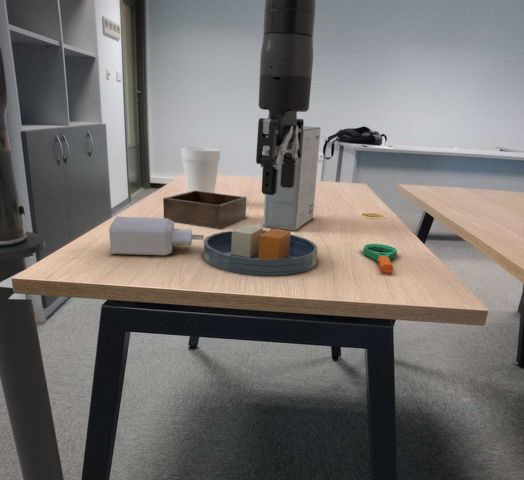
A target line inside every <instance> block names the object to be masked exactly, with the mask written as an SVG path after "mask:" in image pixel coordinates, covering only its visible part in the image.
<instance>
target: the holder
mask: <svg viewBox="0 0 524 480" xmlns="http://www.w3.org/2000/svg"><path fill="white" fill-rule="evenodd" d="M247 199H248V198H247V196H240V195H232V194H226V193H225V194H224V193H217V192H215V193H210V192H202V191H190V192H187V191H186V192H183V193H179V194H174V195H171V196H167V197H163V199H162V202H163V203H162V205H163V206H162V207H163V218H168V219H170V220H172V221H173V222H174V223H181V224H186V225H192V226H193V225H194V226H200V227H207V228H213V229H222V228H225V227H227V226H229V225H232V224H234V223H236V222H239V221H241V220H243V219H245V218H246V217H247Z"/></svg>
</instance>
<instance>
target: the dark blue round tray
mask: <svg viewBox="0 0 524 480" xmlns="http://www.w3.org/2000/svg"><path fill="white" fill-rule="evenodd" d="M232 231H233V230H227V231H221V232H217V233H213V234H210V235H209V236H207V237H206V238H205V239H203V258H204V260H205V261H206V262H207V263H208V264H210V265H211V266H213V267H215V268H218V269H221V270H223V271H228V272H232V273H235V274H236V273H237V274H243V275H250V276H264V277H269V276H271V277H273V276H275V277H277V276H289V275H290V276H291V275H296V274H300V273H305V272H308V271H309V270H311V269H313V268H314V267H315V265H316V264H317V257H318V256H317V255H318V245H317V244H315V242H313V241H311V240H309V239H307V238H304V237H301V236H299V235H295V234H294V235H293V234H291V233H290V245H289V255H287V256H286V257H285V258H283V259H258V257H259V252H258V253H256V254H255V255H253V256H251V257H244V256H238V255H232V254H231V245H232ZM267 231H268V230H263V233H265V232H267Z"/></svg>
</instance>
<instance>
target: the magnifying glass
mask: <svg viewBox="0 0 524 480" xmlns="http://www.w3.org/2000/svg"><path fill="white" fill-rule="evenodd" d="M362 251H363V252H362V254H363V255H364V256H366V257H368V258H370V259H372V260H374V261H376V262H378V265H379V267H380V270H381V271H382V272H383V273H392V271H393V270H394V266H393V264H392V262H391V261H392V260H394V259H395V258H396V257H397V254H398V250H397V248H396V247H393V246H391V245H387V244H381V243H380V244H379V243H368V244H367V243H366V244H365V245H364V246H363V250H362Z"/></svg>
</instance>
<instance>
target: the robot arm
mask: <svg viewBox="0 0 524 480" xmlns="http://www.w3.org/2000/svg"><path fill="white" fill-rule="evenodd" d="M316 2H317V0H265V1H264V11H263V32H262V33H263V36H262V44H261V51H260V59H259V60H260V61H259V62H260V63H259V83H258V84H259V87H258V88H259V89H258V107H259V109H261V110H262V111H263V110H264V111H265V110H266V111H268V117H267V118H266V117H265V118H263V117H262V118H261V117H260V118H258V123H257V138H256V153H255V154H256V155H255V163H256V164H257V165H260V168H262V174H261V175H262V176H261V193H262V194H263V195H265V194H267V195H274V194H276V192H277V178H278V169H277V168H278V165H279V162H280V158H281V159H282V162H283V163H282V167H281V182H280V185H281V187H285V188H292V187H293V186H294V179H295V166H296V164H297V162H298V159H300V158H301V156H302V139H303V126H305V121H304V119H303V118H298V116H297V114H298V112H300V113H306V112H309V109H310V100H311V89H312V77H313V76H312V75H313V65H314V33H315V32H314V31H315V20H316V4H317V3H316ZM1 45H2V44H1V43H0V248H4V247H10V246H15V245H19V244H22V243H24V242H26V241H27V235H26V232H27V231H26V228H25V222H24V217H23V216H26V213H25V207H24V206H23V205H22V204H21V199H20V192H19V187H18V181H17V175H16V170H15V169H16V168H15V164H14V158H13V153H12V148H11V142H10V136H9V130H8V123H7V112H8V107H9V96H8V86H7V77H6V71H5V63H4V57H3V49H2V46H1ZM292 142H293V144H292Z"/></svg>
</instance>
